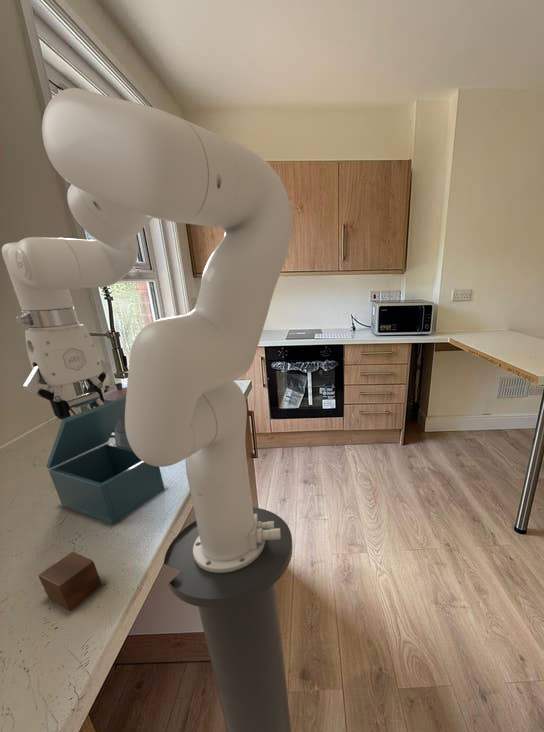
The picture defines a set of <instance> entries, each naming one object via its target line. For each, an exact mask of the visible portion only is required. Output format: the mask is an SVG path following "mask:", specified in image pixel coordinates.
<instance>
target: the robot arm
mask: <svg viewBox="0 0 544 732" xmlns="http://www.w3.org/2000/svg"><path fill="white" fill-rule="evenodd" d="M41 134H42V135H41V136H42V141H43V142H42V143H43V146H44V148H45V152H46V155H47V157H48V160H49V161H50V163H51V165H52V166H53V168H54V169H55V170H56V172H57V173H58V175H59V176H61V177H62V179H64V180H65V181H66V182H67V183H69V188H68V190H67V193H66V200H67V205H68V208H69V211H70V213H71V215H72V216H73V218H74V220H75V221H76V222H77V224H78V225H79V226H80V227H81V228H82V229H83V230H84V231H85V232H86V233H88V234H89V236H91V237H92V238H94V239H81V238H67V237H66V238H64V237H44V236H30V237H25V238H23V239H20V240H19V241H15V242H8V243H5V244H3V245H2V246H1V254H2V255H1V256H2V258H3V261H4V264H5V267H6V270H7V272H8V275H9V278H10V281H11V284H12V286H13V289H14V292H15V295H16V298H17V301H18V304H19V306H20V309H21V311H20V313H21V314H20V315H19V316H15V321H16V323H17V324H18V325H20V326H21V325H24V326H25V327H26V328H27V329H26V330H25V331H24V333H25V334H24V336H25V345H26V351H27V356H28V359H29V363H30V366H31V371H30V373H29V374H28V377H27V378H26V379H25V381H24V383H23V384H22V389H24V390H25V391H28V392H29V393H32V394H34V395H36V396H39V397H40V398H43V399H45V400H47V401H49V403H50V406H51V408H52V411H53V414H54V416H55V417H56V418H57V419H58V420H62V419H64V418H67V417H70V416H72V415H71V413H70V412H71V411H70V410H69V409H68V406H67V403H66V401H65V400H66V399H63V398H62V394H63V387H65V386H68V385H71V384H75V383H79V382H85V383H86V384H87V385H88V387H87V388H86V391H87V393H90V392H93V391H96V392H98V393H99V395H100V399H101V400H102V402H103V403H104V398H103V394H104V393H103V390H102V388H104V382H105V380H106V378H107V375H108V373H109V371H110V369H111V365H110V364H108V363H107V362H105V361H104V360H102V359H101V358H100V355H99V352H98V350H97V347H96V345H95V343H94V340H93V339H92V336H91V335H90V333H89V330H88V328H87V327H86V326H85V324H83V323H81V324H80V321H79V319H78V315H77V312H76V308H75V305H74V302H73V301H74V300H73V298H72V295H71V292H70V290H73V289H93V288H95V289H97V288H106V287H111V286H114V285H116V284H117V283H119V282H120V281H121V280H122V279H124V278H125V277H126V276H127V275H128V274H129V273H130V272H132V270H133V269H134V268H135V266H136V264H137V261H138V254H139V242H138V237H137V235H138V234H140V232H141V231H142V230H143V229H144V228H145V227H146V226H147V225H149V223H150V222H151V221H152V220H153V219H157V220H161V221H167V222H172V223H176V224H177V223H178V224H186V225H187V224H188V225H196V226H203V227H210V228H211V227H212V228H221V229H222V231H223V232H224V235H223V237H222V240H221V241H220V242H219V244H218V245H217V246H216V248H215V249H214V250H213V252H212V253H211V254H210V257H209V258H208V260H207V262H206V265H205V267H204V268H203V272H202V274H201V275H202V277H201V281H200V288H199V291H198V292H199V293H198V296H197V300H196V302H195V306H194V307H193V309H192V310H191V311H190V312H188V313H186V314H181V315H174V316H168V317H162V318H160V319H159V318H158V319H156V320H153V321H152V322H150V323H148V324H146V325H145V326H144V327H143V328H141V329H140V331H139V332H138V333H137V335H136V336H135V338H134V340H133V343H132V345H131V348H130V352H129V353H130V354H129V361H128V372H127V384H126V387H127V394H126V405H125V430H126V436H127V439H128V442H129V445H130V447H131V448H132V450H133V452H134V453H135V455H136V456H137V457H138V458H139V459H140V460H142V461H143V462H145V463H147V464H149V465H152V466H157V467H159V468H163V467H169V466H174V465H176V464H179V463H181V462H183V461H184V460H185V470H186V477H187V482H188V487H189V492H190V497H191V501H192V507H193V511H194V516H195V521H197V526H198V531H199V537H198V538H197V539H196V541H195V543H194V546H193V556H194V560H195V561H196V563H197V564H198V566H199V567H201V568H202V569H204V570H206V571H209V572H214V573H226V572H232V571H235V570H238V569H241V568H243V567H245V566H247V565H248V564H250V563H252V562H253V561H254V560H255V559H256V558H257V557H258V556H259V555H260V554H261V552H262V550H263V548H264V545H265V540H280V539H281V533H280V528H276V529H274V521H270V522H262V523H261V521H258V517H257V514H253V507H254V506H253V499H252V493H251V484H250V476H249V465H248V457H247V448H246V434H247V433H246V432H247V431H246V430H247V421H248V420H247V419H248V407H247V405H248V404H247V399H246V397H245V393H244V392H243V390H242V388H241V387H240V386H239V385H238V383H237V382H235V381H236V380H238V379H240V378H241V377H243V376H244V375H245V374H246V373H248V372H249V370H250V369H251V367H252V365H253V362H254V360H255V356H256V353H257V350H258V347H259V343H260V340H261V338H262V334H263V331H264V327H265V324H266V321H267V318H268V314H269V311H270V306H271V302H272V299H273V296H274V293H275V289H276V287H277V284H278V281H279V279H280V276H281V273H282V271H283V267H284V265H285V262H286V259H287V256H288V253H289V249H290V245H291V241H292V236H293V235H292V233H293V212H292V206H291V202H290V197H289V195H288V192H287V190H286V187H285V185H284V183H283V181H282V179H281V178H280V176H279V175H278V174H277V172H276V171H275V170H274V168H273V167H272V166H271V164H269V163H268V161H266V160H265V159H264V158H263V157H262V156H260V155H259V154H257V153H256V152H254V151H253V150H251V149H249V147H247V146H244V145H242V144H240V143H238V142H236V141H234V140H232V139H230V138H228V137H226V136H224V135H221V134H218V133H216V132H214V131H211V130H208V129H206V128H204V127H202V126H200V125H197V124H195V123H193V122H191V121H189V120H186V119H184V118H182V117H179V116H176V115H174V114H172V113H169V112H167V111H164V110H162V109H160V108H155V107H153V106H150V105H146V104H142V103H139V102H135V101H129V100H126V99H122V98H121V99H120V98H117V97H113V96H110V95H105V94H101V93H97V92H93V91H89V90H86V89H84V88H79V87H71V88H66V89H63V90H60V91H59V92H58V93H56V94H55V95H54V96H52V98H51V99H50V100H49V101H48V104H47V105H46V108H45V110H44V112H43V116H42V123H41ZM39 384H40V385H45V388H42V387H40V386H39ZM90 404H91V407H93V408H95V407H98V406H99V404H98V403H97V402H93V403H90ZM263 529H270V530H263Z"/></svg>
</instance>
